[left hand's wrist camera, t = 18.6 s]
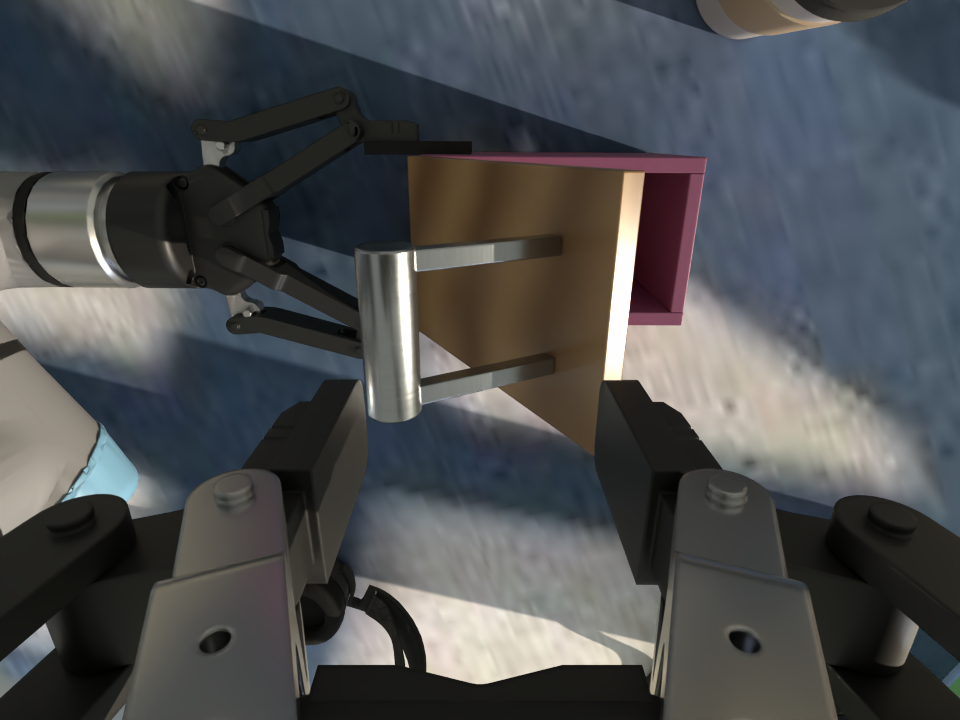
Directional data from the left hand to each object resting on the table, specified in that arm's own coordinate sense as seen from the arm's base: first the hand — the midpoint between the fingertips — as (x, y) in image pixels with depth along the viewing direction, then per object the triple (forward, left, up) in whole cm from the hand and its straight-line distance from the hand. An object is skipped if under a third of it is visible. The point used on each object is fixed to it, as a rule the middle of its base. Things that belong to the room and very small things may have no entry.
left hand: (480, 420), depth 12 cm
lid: (+1, -1, -14) cm, 14 cm away
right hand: (0, 0, -26) cm, 26 cm away
